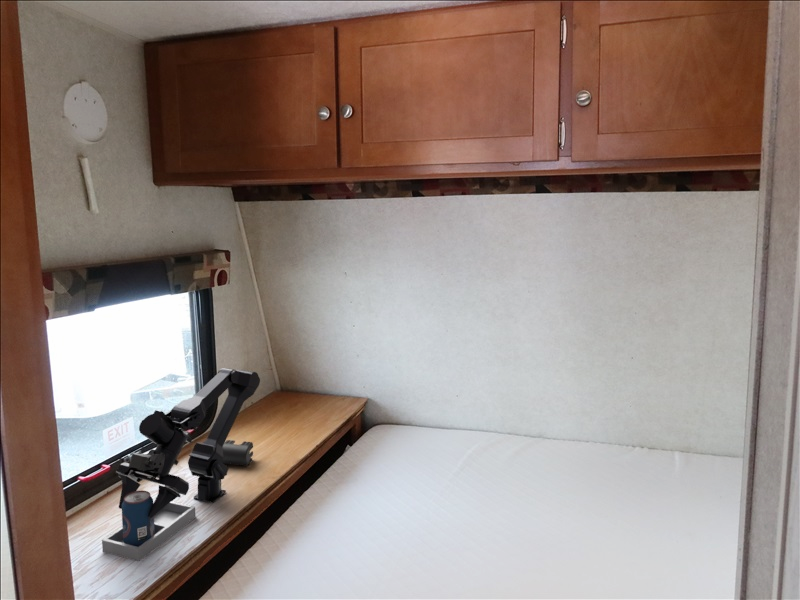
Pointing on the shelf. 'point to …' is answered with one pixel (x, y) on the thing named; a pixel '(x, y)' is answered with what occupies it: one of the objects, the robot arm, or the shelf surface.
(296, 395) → the shelf surface
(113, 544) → the can carrier
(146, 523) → the soda can
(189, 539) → the shelf surface
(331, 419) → the shelf surface
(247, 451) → the end cap
